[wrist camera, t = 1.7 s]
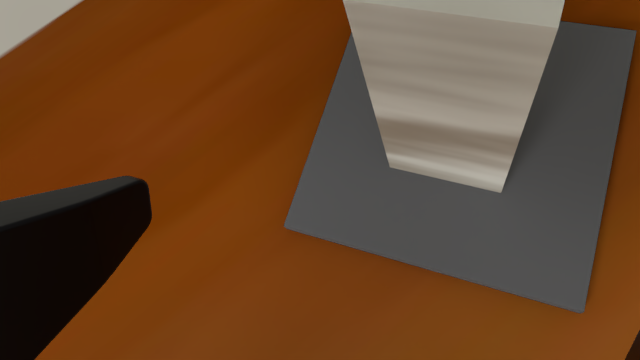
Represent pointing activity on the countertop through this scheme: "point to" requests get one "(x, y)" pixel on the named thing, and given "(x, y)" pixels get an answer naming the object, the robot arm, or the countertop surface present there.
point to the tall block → (453, 80)
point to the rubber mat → (475, 203)
